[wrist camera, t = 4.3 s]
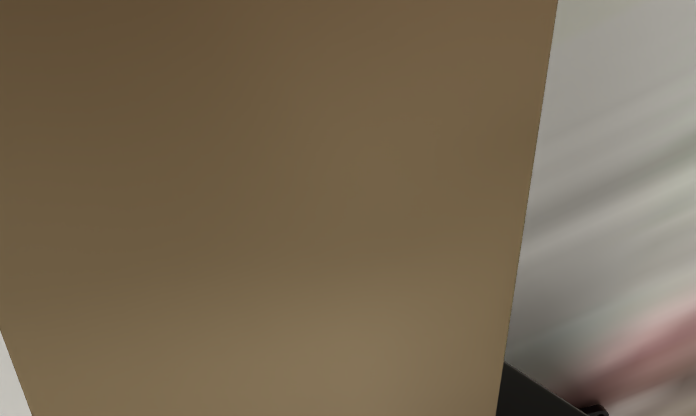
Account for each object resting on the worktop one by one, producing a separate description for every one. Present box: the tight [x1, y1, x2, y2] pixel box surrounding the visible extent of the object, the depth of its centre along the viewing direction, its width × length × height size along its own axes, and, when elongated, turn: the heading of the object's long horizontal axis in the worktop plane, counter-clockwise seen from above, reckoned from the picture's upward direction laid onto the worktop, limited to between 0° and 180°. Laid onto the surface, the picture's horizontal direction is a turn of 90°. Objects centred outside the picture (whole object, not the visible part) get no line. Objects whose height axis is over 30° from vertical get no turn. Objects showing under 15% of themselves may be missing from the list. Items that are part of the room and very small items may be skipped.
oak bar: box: [0, 0, 558, 416], centre depth 7 cm, size 16×4×4 cm, turn 1°
